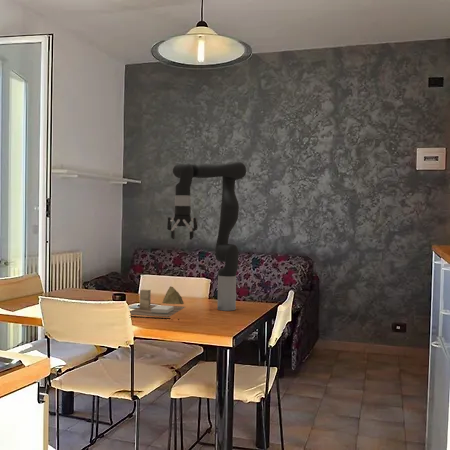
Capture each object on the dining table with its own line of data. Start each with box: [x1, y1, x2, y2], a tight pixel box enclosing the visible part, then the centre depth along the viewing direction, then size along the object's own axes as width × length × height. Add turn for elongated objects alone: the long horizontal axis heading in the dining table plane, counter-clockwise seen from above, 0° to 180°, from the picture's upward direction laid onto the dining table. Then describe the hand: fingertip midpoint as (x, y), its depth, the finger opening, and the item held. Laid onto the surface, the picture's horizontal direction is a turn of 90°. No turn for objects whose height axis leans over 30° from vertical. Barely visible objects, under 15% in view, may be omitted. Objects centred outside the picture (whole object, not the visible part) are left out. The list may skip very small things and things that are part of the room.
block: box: [139, 288, 152, 309], centre depth 263 cm, size 4×4×9 cm
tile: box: [151, 304, 175, 314], centre depth 255 cm, size 2×8×10 cm
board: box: [130, 304, 186, 320], centre depth 258 cm, size 28×22×1 cm
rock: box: [161, 286, 185, 305], centre depth 278 cm, size 11×9×10 cm
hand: (182, 239), depth 254 cm, fingers open, 8 cm apart
